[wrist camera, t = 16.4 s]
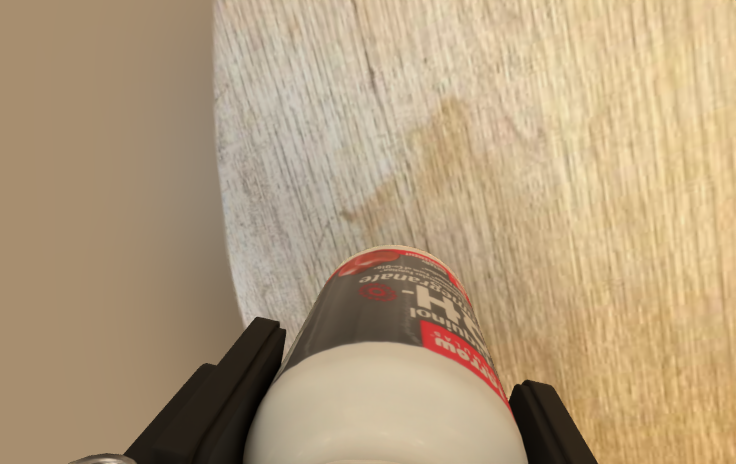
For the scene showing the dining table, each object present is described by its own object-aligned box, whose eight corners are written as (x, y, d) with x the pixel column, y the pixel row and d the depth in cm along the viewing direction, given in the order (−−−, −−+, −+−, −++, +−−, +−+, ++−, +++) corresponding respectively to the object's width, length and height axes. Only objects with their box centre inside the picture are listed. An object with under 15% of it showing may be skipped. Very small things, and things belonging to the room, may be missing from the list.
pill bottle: (483, 252, 13) (698, 583, 3) (454, 387, 14) (550, 881, 5) (326, 230, 13) (132, 475, 4) (313, 363, 15) (148, 786, 5)
